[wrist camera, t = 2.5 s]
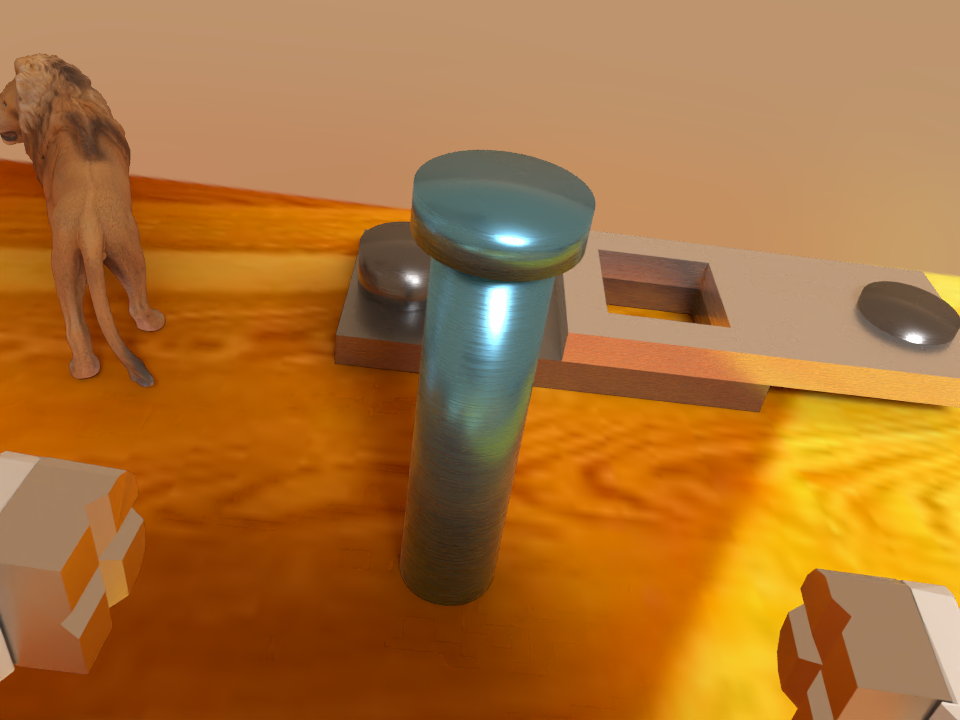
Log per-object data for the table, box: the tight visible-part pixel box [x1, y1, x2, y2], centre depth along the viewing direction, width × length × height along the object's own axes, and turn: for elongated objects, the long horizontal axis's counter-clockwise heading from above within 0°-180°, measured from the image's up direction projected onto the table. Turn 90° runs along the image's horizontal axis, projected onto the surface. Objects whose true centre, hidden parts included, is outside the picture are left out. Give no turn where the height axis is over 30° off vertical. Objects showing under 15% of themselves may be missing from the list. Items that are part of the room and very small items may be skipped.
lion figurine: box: [0, 54, 165, 387], centre depth 36 cm, size 15×5×9 cm, turn 33°
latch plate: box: [335, 222, 960, 412], centre depth 41 cm, size 28×9×4 cm, turn 88°
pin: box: [400, 150, 595, 605], centre depth 25 cm, size 4×4×14 cm
